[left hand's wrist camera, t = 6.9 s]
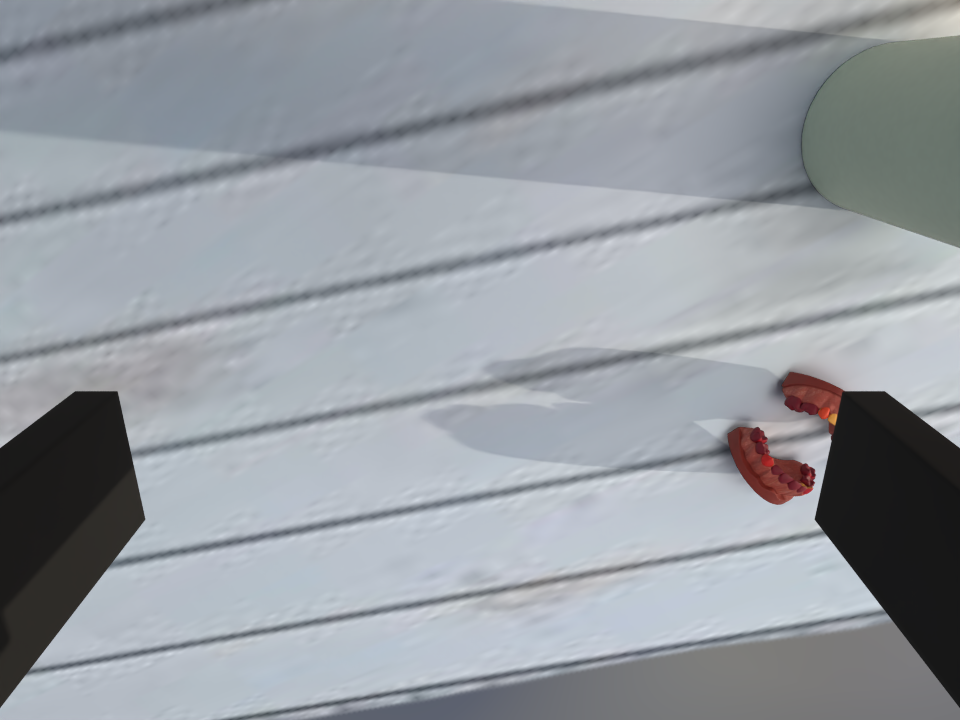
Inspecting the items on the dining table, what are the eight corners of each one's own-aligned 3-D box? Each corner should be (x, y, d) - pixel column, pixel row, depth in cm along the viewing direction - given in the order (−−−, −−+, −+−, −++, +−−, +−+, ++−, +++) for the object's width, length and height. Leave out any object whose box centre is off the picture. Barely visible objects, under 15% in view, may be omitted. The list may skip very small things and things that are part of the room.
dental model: (903, 435, 39) (799, 528, 42) (867, 405, 43) (773, 491, 45) (834, 380, 38) (731, 478, 40) (803, 353, 42) (712, 445, 44)
